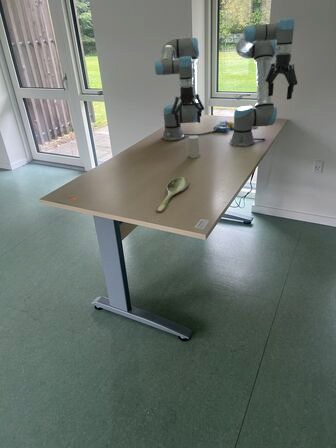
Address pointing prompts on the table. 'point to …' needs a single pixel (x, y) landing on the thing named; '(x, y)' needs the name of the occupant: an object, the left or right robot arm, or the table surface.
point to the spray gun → (223, 126)
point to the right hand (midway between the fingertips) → (279, 97)
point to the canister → (194, 146)
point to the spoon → (174, 190)
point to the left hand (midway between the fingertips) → (188, 123)
